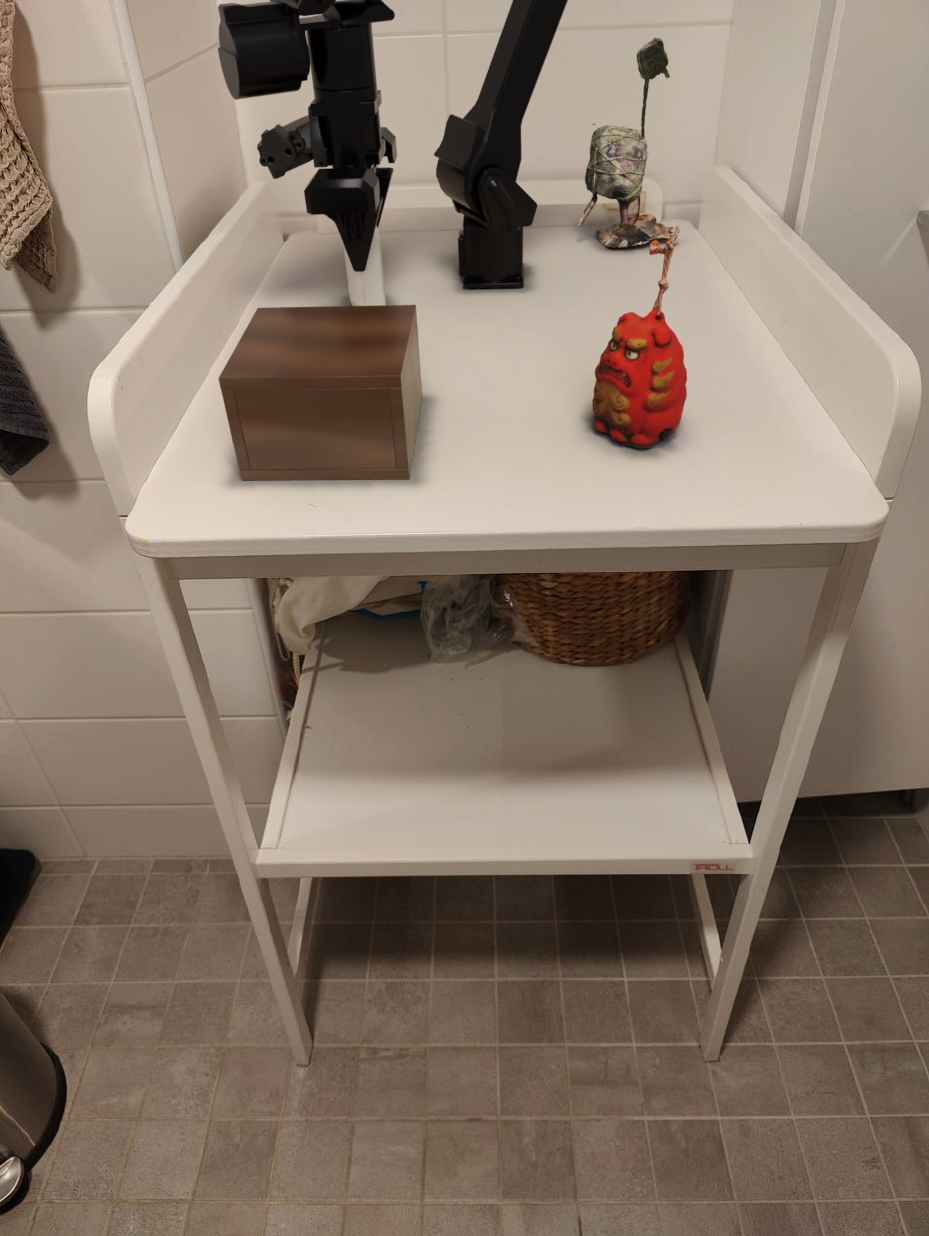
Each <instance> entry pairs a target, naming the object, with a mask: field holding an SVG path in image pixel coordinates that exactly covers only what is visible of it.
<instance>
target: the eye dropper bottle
mask: <svg viewBox="0 0 929 1236" xmlns="http://www.w3.org/2000/svg"><path fill="white" fill-rule="evenodd" d="M342 244H343V243H342ZM343 253H344V262H345V263H344V264H345V271H346V279H347V286H348V287H347V288H348V295H349V296H348V297H349V301H350V304H351V306H383V305H387V299H386V297H387V296H386V286H385V275H384V266H383V254H382V244H381V237H380V231H379V227H378V228H377V226H376V228H375V232H374V236H373V240H372V245H371V249H370V253H369V257H368V261H367V265H366V269H365V271H363V272H355V271H354V270H353V267H352V265H351V262H350V260H349V257H348V254H347V252H346V249H345V246H344V244H343Z"/></svg>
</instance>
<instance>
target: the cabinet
mask: <svg viewBox="0 0 929 1236" xmlns="http://www.w3.org/2000/svg"><path fill="white" fill-rule="evenodd" d="M419 343H420V342H419V327H418V313H417V305H416V304H390V305H389V304H388V305H387V304H386V305H383V306H353V305H334V306H331V305H330V306H329V305H328V306H284V307H283V306H282V307H280V306H279V307H277V306H276V307H275V306H274V307H257V308H256V310H255V312H254V313H253V316H252V317H251V319H250V321H249V323H248V325H247V326H246V328H245V330H244V332H243V333H242V335H241V337H240V339H239V341H238V342H237V344H236V346H235V348H234V349H233V352H232V353H231V354H230V356H229V359H228V360H227V361H226V364H225V366H224V367H223V369H222V371H221V373H220V374H219V376H218V378H217V379H218V383H219V387H220V391H221V397H222V400H223V404H224V405H223V406H224V409H225V414H226V417H227V418H226V419H227V423H228V427H229V431H230V436H231V440H232V444H233V449H234V453H235V458H236V463H237V467H238V470H239V471H238V472H239V476H240V480H241V481H308V480H309V481H313V480H314V481H316V480H317V481H319V480H320V481H321V480H327V481H328V480H331V481H333V480H409V479H410V477H411V472H412V465H413V460H414V459H413V458H414V455H415V448H416V443H417V435H418V429H419V423H420V419H421V418H420V417H421V411H422V407H423V406H422V404H423V385H422V373H421V356H420V345H419Z"/></svg>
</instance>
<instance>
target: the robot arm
mask: <svg viewBox="0 0 929 1236" xmlns="http://www.w3.org/2000/svg"><path fill="white" fill-rule="evenodd" d="M568 1H569V0H512V2H511V5H510V7H509V10H508V13H507V16H506V18H505V22H504V24H503V27H502V29H501V33H500V35H499V37H498V41H497V44H496V46H495V48H494V52H493V55H492V57H491V61H490V64H489V65H488V69H487V72H486V75H485V77H484V81H483V84H482V86H481V89H480V92H479V94H478V97H477V99H476V101H475V104H474V105H473V106H472V107H471V108H470V109H469V111H468V112H467V113H466V114H465V115H464V116H463V117H460V116H457V115H455V114H451V113H450V114H449V116H448V118H447V120H446V123H445V127H444V133H443V137H442V140H441V142H440V145H439V146H438V147H437V149H436V150H435V151H434V153H433V156H434V157H435V158H437V163H436V167H435V177H436V179H437V182H438V185H439V188H440V190H441V191H442V192H443V194H444V195H445V196H447V197H448V198H450V200H451V202H452V205H453V207H454V210H455V212H456V213H458V214H461V215H463V218H462V219H463V221H462V229H459V231H458V236H457V253H458V254H457V257H458V276H459V277H460V278H463V279H462V287H463V288H464V289H491V288H492V289H494V288H495V289H496V288H522V287H524V286H525V267H524V266H525V263H524V228H526V227H530V226H532V225H533V222H534V219H535V215H536V212H537V209H538V203H537V202H536V201H535V200H534V199H533V198H532V197H531V196H530V195H529V194H528V192H526V191H525V190H524V188H522V186H521V185H520V184H518V182H517V180H518V176H519V173H520V172H519V171H520V167H521V163H522V159H523V158H522V155H523V154H522V152H523V151H522V124H523V120H524V117H525V114H526V112H527V110H528V107H529V103H530V101H531V99H532V96H533V93H534V91H535V89H536V86H537V83H538V80H539V78H540V75H541V73H542V70H543V67H544V64H545V62H546V59H547V57H548V54H549V52H550V49H551V46H552V44H553V41H554V38H555V37H556V36H555V35H556V33H557V30H558V28H559V25H560V22H561V19H562V17H563V15H564V12H565V9H566V6H567V4H568ZM217 10H218V17H219V25H218V42H219V47H217V53H218V58H219V63H220V68H221V71H222V75H223V79H224V81H225V85H226V87H227V89H228V92H229V93H230V95H231V97H232V98H233V100H235V101H238V100H244V99H251V98H259V97H265V96H272V95H281V94H286V93H287V94H288V93H294V92H298V91H300V89H301V88H302V83H303V82H306V81H308V79H309V75H310V73H311V80H312V89H313V97H314V98H313V100H312V101H311V103H310V104H309V105H308V107H307V113H308V114H307V115H304V116H302V117H300V118H298V119H295V120H293V121H291V122H288V123H287V124H285V125H283V126H282V125H281V124H276V125H275V126H274V127H273V128H271V129H265V130H264V131H263V132H262V133H261V135H260V136H261V138H260V139H261V140H260V141H259V142H258V143H257V145H256V149H257V151H258V154H259V160H258V161H259V164H260V166H262V167H264V168H265V167H267V169H268V171H269V173H270V175H271V177H272V179H274V180H277V179H280V178H282V177H284V176H286V173H287V172H290V171H292V170H295V169H296V168H299V167H301V166H303V165H305V164H308V163H310V162H312V161H313V165H314V166H313V167H314V168H315V169H316V168H318V170H317V171H316V172H315V173H314V174H313V176H312V177H311V179H309V182H308V183H307V185H306V187H305V188H304V190H303V194H304V200H305V202H304V203H305V209H306V214H309V215H311V216H313V215H314V216H318V215H322V216H323V215H324V216H326V217H327V218H328V219H329V220H331V221H332V222H333V223H334V224H335V226H336V229H337V232H338V234H339V236H340V239H341V241H342V244H344V246H345V249H346V252H347V254H348V257H349V260H350V262H351V265H352V267H353V270H354V271H355V272H363V271H365V269H366V265H367V261H368V257H369V253H370V249H371V245H372V240H373V236H374V232H375V228H376V226H377V228H378V229H379V228H380V223H381V219H382V215H383V212H384V209H385V204H386V201H387V197H388V194H389V189H390V185H391V181H392V177H393V175H394V171H395V170H394V168H393V167H390V166H389V167H380V165H381V163H382V161H383V158H384V157H386V158H387V162H388V164H395V163H396V160H397V158H398V150H397V147H398V146H397V137H396V135H395V134H394V133H393V132H392V131H391V130H390V129H389V128H387V127H386V126H381V117H380V116H381V115H380V106H381V104H382V90H381V89H378V82H377V70H376V69H377V68H376V59H375V48H374V46H375V45H374V35H373V23H382V22H391V21H393V20H394V19H395V17H396V13H395V11H394V10H393V9H392V8H390V7H389V6H388V5H387V4H386V3H385V2H384V0H269V1H265V2H264V1H263V2H255V3H246V4H244V3H243V4H242V3H236V2H227V3H220V4H218V7H217ZM300 16H301V17H300ZM329 167H330V168H329ZM344 246H343V247H344Z"/></svg>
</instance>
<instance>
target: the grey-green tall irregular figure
mask: <svg viewBox="0 0 929 1236" xmlns="http://www.w3.org/2000/svg"><path fill="white" fill-rule="evenodd" d="M636 63H637V70H638V73H639V75H640V77H641V79H643V80H644V84H643V91H642V92H643V99H642V108H641V118H640V121H641V125H640V127H641V129H640V131H639V130H638V129H633V128H630V127H629V128H628V127H624V126H617V125H614V124H606V125H603V126H600V127H598V128H596V129H595V130H594V131H592V135H591V139H590V145H589V160H588V163H587V166H586V169H585V175H584V185H585V188H586V190H587V191H588V192H590V193H591V195H592V197H591V199H590V201H589V202H588V204H587V205H586V206H585V208H584V210H583V213H582V216H581V218H580V219H579V221H578V224H577V227H578V228H581V227H582V226H583V224H584V223H585V221H586V220H587V218H588V217H589V215H590V213H591V212H592V210H593V208H594V207H595V205H596V204H597V201H598V200H599V199H598V196H601V197H604V198H607V199H609V200H616V202H617V203H618V209H619V218H620V222H619V224H615V223H614V224H612V226H608V227H606V226H604V227H602V228H599V229H597V230H595V231H596V232H595V234H594V235H595V236H596V237H597V239H598V241H599V243H601V244H600V245H604V246H605V247H607V248H610V247H611V248H618V249H620V248H621V249H622V248H628V247H633V246H638V245H639V246H641V245H644V244H647V243H649V242H652V241H651V240H658V239H661V238H664V239H668V240H669V239H671V238H672V237H673V236H674V232H673V231H672V230H673V229H674V228H675V226H671V227H670V226H669V227H668V226H665V225H664V224H663V223H661V222H657V218H656V215H655V214H654V213H649V214H648V213H645V212H642V211H641V194H642V189H643V182H644V177H645V174H646V172H645V169H646V166H647V160H648V157H649V151H648V144H647V143H648V141H647V140H646V137H645V135H646V134H645V124H646V110H647V100H648V92H649V86H650V85H649V84H650V80H654V79H655V78H656V77H657V76H660V75H661V74H662V75H664V77H665V78H666V79H670V78H671V75H670V73H669V70H668V69H667V67H668V65H669V59H668V54H667V52H666V49H665V44H664V41H663V40H662V39H661V38H660V37H657V36H656V37H653V39H651V40H650V41H648V42H647V43H645V44H644V45H642V47H641V48H640V49H639V50H638V51H637V52H636ZM591 125H592V126H596V123H592V124H591ZM636 200H637V206H638V208H637V212H633V213H629V208H630V205H631V204H632V203H634V202H635V201H636ZM640 211H641V212H640Z"/></svg>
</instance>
